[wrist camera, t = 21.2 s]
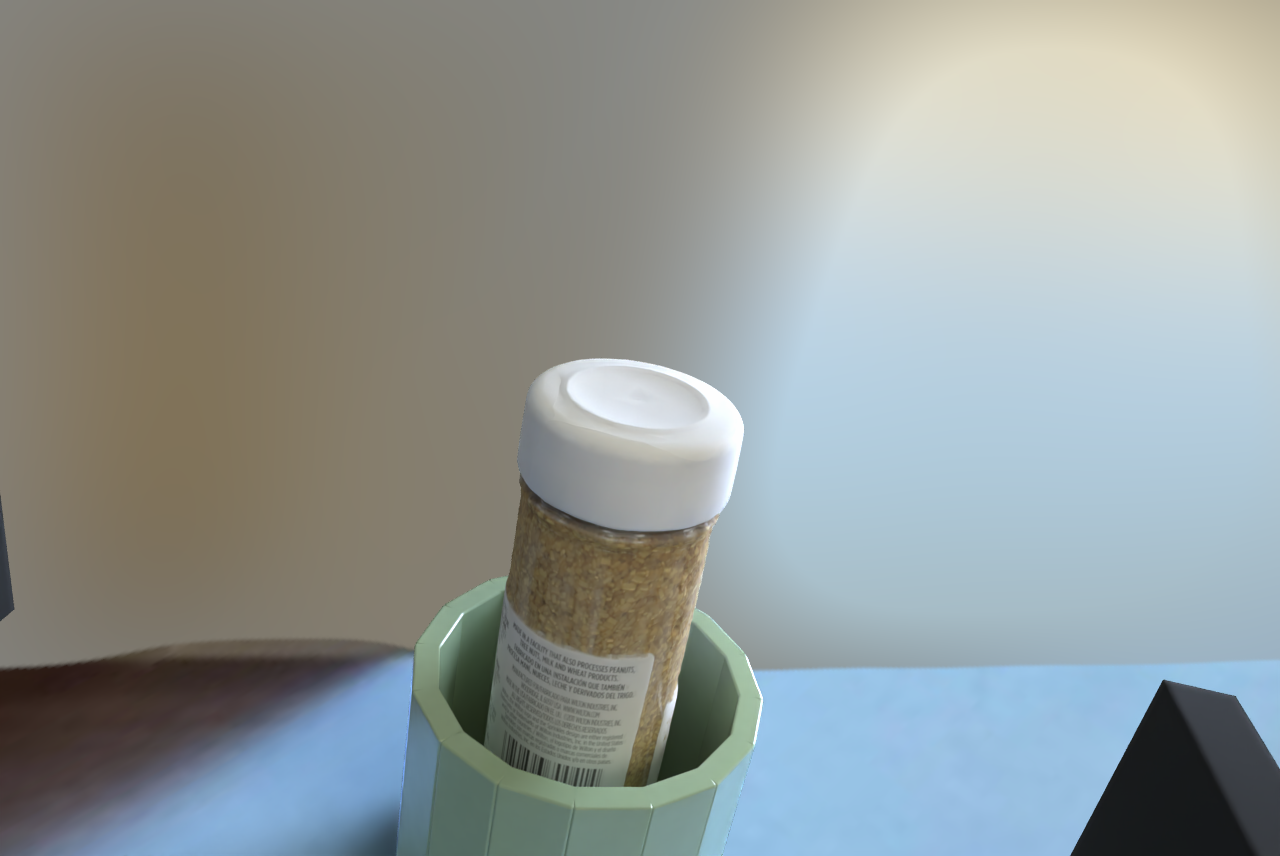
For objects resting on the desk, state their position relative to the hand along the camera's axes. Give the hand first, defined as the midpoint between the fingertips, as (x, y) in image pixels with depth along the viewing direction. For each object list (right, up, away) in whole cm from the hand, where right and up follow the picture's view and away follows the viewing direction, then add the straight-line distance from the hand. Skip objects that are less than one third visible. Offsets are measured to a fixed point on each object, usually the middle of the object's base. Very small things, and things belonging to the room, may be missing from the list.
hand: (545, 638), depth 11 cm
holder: (-1, -10, +15) cm, 18 cm away
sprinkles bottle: (-1, -9, +15) cm, 18 cm away
